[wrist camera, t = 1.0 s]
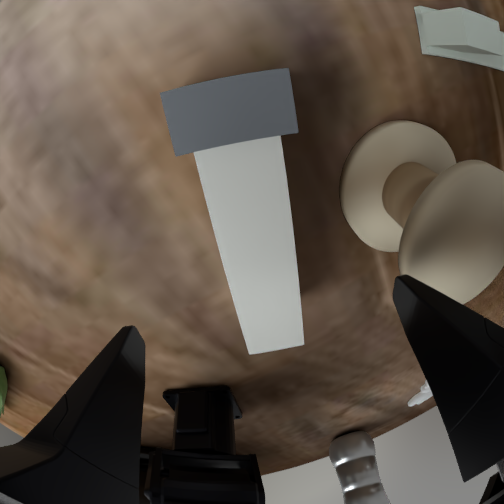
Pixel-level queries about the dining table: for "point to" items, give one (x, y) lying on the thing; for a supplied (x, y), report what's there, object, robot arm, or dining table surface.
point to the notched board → (461, 36)
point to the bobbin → (426, 207)
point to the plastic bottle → (357, 469)
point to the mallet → (246, 193)
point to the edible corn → (2, 388)
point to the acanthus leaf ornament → (421, 395)
